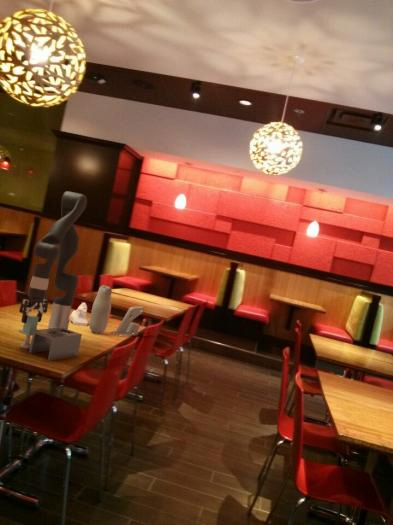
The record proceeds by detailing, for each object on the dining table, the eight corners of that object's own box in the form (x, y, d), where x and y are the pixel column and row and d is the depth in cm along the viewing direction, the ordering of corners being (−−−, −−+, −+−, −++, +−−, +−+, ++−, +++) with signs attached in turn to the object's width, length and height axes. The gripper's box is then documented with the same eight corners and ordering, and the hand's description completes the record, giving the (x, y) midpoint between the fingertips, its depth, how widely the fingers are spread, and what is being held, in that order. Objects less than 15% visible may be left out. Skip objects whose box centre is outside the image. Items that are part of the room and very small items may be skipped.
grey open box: (57, 347, 208) (61, 327, 208) (77, 355, 203) (81, 334, 203) (28, 352, 192) (33, 330, 192) (49, 360, 187) (54, 337, 187)
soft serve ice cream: (88, 325, 280) (98, 305, 279) (82, 331, 265) (93, 310, 264) (71, 316, 279) (80, 296, 278) (64, 321, 264) (74, 301, 263)
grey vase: (108, 334, 259) (118, 288, 258) (96, 335, 250) (107, 287, 249) (95, 329, 263) (105, 284, 263) (84, 330, 254) (94, 283, 254)
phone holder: (125, 330, 281) (131, 302, 281) (139, 334, 277) (145, 306, 277) (110, 332, 265) (116, 303, 265) (124, 337, 261) (131, 307, 261)
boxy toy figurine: (25, 344, 202) (32, 314, 202) (35, 348, 199) (42, 317, 199) (15, 346, 196) (22, 314, 196) (25, 350, 194) (32, 318, 194)
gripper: (43, 285, 205) (36, 319, 205) (20, 284, 192) (12, 320, 192) (56, 289, 202) (48, 323, 202) (33, 288, 189) (25, 325, 189)
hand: (31, 322), depth 197 cm, fingers open, 8 cm apart
